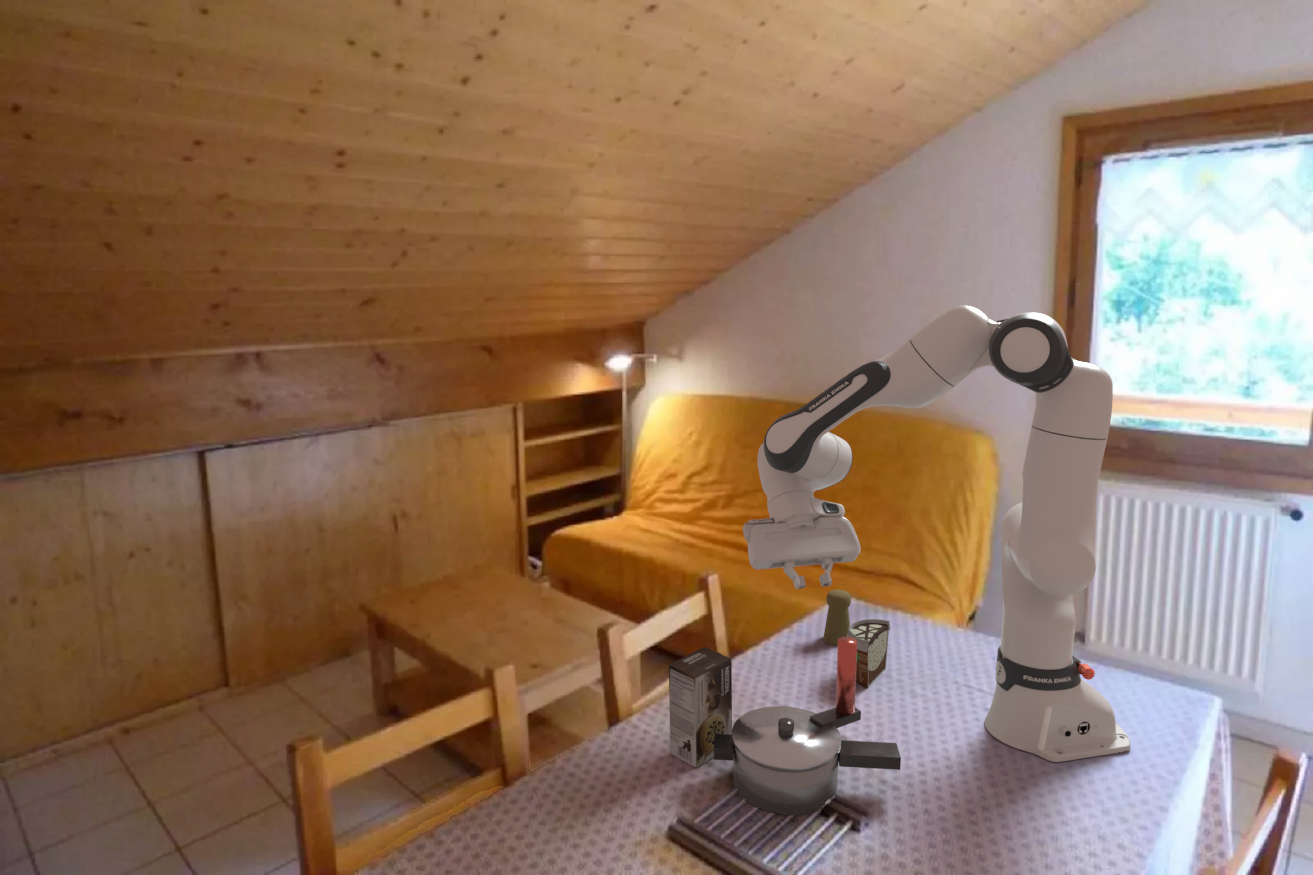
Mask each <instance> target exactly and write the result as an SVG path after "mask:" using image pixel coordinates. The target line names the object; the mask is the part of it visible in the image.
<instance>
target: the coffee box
mask: <svg viewBox="0 0 1313 875" xmlns="http://www.w3.org/2000/svg"><path fill="white" fill-rule="evenodd" d="M732 670H733V667H732V657H728V656H726V655H724V654H722V653H721V652H718V651H717V650H715V649H714V650H713V649H712V648H708V647H706V646H703V647H701V648H699V649H697V650H694V651H693V652H691V653H689V654H687V655H685V656H683V657H681V658H679V659H676V660H675V661H673V662H671V663H669V664H668V690H669V692H668V696H669V697H668V698H669V700H668V702H669V708H668V709H669V753H670V755H673V756H674V757H676V758H678V759H680V760H681V761H683V762H685V763H686V764H688V765H690V766H692V767H694V768H697V769H698V768H699V767H700V766H702V765H704V764H706V763H707V762H708V761H710V760H712V759H714V741H715V734H729V735H732V728H733V717H732V716H733V709H732V708H733V696H732V695H733V694H732V692H733V690H732V689H733V688H732V687H733V686H732V684H733V682H732V681H733V678H732V677H733V672H732Z"/></svg>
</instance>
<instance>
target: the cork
mask: <svg viewBox="0 0 1313 875" xmlns="http://www.w3.org/2000/svg"><path fill="white" fill-rule="evenodd" d="M851 603H852V597H851V595H850V593H849V592H848V591H846V590H843V589H832V590H830V591H828V593H827V595H826V604H827V605H828V609H827V615H826V620H825V627H824V631H823V638H822V639H823V641H824V642H825V643H826V644H829V645H832V646H837V647H838V639H839V638H840V637H846V636H847V633H848V629H849V628H850V626H851V622H850V614H849V613H850V612H849V607H850V605H851Z"/></svg>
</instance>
